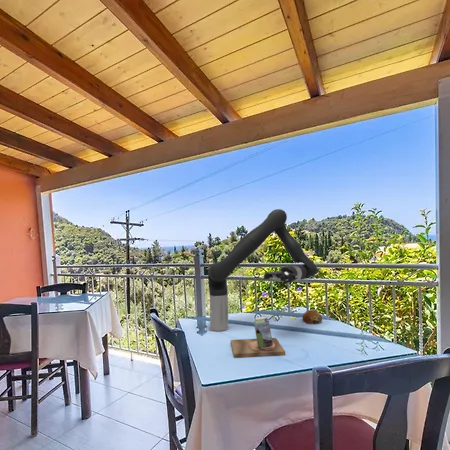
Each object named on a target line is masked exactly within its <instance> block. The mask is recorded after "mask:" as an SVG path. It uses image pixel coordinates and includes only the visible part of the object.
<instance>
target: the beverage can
mask: <svg viewBox="0 0 450 450" xmlns="http://www.w3.org/2000/svg"><path fill="white" fill-rule="evenodd" d="M253 324H254V331H255V337H256V338H255V339H257V344H258V347H260V348H261V349H266V348H270V347H271V346H272V345H273V342H272V338H273V337H272V331H271V325H270V320H269V318H268V317H267V316H258V317H255V318H254V321H253Z"/></svg>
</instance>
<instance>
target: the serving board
mask: <svg viewBox="0 0 450 450" xmlns="http://www.w3.org/2000/svg"><path fill="white" fill-rule="evenodd" d="M272 342H273V345H272V346H271V347H270V348H266V349H261V348H260V347H258V344H257V338H243V339H230V345H231V351H232V356H233V358H234V359H236V358H257V357H275V356H278V357H279V356H286V350H285V348H284V347H283V346H282V345H281V343H280V342H279V340H278V338H277V337H272Z"/></svg>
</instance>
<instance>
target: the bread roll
mask: <svg viewBox="0 0 450 450" xmlns="http://www.w3.org/2000/svg"><path fill="white" fill-rule="evenodd" d="M302 321H303V323H305V324H308V325H319V324H320V323H322V321H323V318H322V314H321V313H320V312H319V311H317V310H315V309H307V310H306V311H305V312H304V313H303V314H302Z"/></svg>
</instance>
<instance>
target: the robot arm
mask: <svg viewBox="0 0 450 450" xmlns="http://www.w3.org/2000/svg"><path fill="white" fill-rule="evenodd" d="M287 215H288V214H287V212H286V211H285V210H283V209H281V208H279V209H274V210H272V211H271V212H270V213H268V215H267V217H266V218H265V219H264V220H263V222H261V223H260V224H259V225H257V226H256V227H254V228H253V229H252V230H250V231H249V232H248V233H247V234H245V235H244V236H243V237H242V238H241V239H240V240H239V241H238V242H237V243H236V244H235V245H234V247H232V250H231V251H230V252H229V254H227V255H226V256H225V257H224V258H222V260H220V261H218V262H213V263H211V264H210V265H209V267H208V270H207V280H208V291H209V322H210V323H209V324H210V325H209V326H210V331H211V332H212V331H214V332H224V331H226V330H228V329H230V327H229V300H228V299H229V298H228V297H229V296H228V295H229V292H228V286H227V279H228V277H229V276H230V275H231V274H232V273H233V272H234V270H235V269H236V268H237V267H238V266H239V265H240V264H241V263H242V262H244V261H245V260H246V259H247V258H249V257H250V256H251V255H252V254H253V253H254V252H255V251H256V250H258V248H260V246H261V245H263V243H264V242H265V241H266V240H267V239H268V237H270V235H272V234H273V233H275V234H276V235H277V237H278V238H279V240H280V241H281V242H282V244H283V246H284V247H285V249H286V251H287V253H288V254H289V256H290V257H291V259H292V261H293V262H294V263H295V264H296V263H302V265H299V264H298V265H290V266H289V265H288V266H284V267H282V268H281V269H280V270H278V271H269V272H265V274H263V279H264V280H271V279H272V280H280V281H281V282H284V283H286V284H287V283H288V284H289V283H293V282H296V281H299V280H305V279H309V278H310V277H312V276H315V275H316V274H317V273H318V268H317V265H316V264H315V263H314V262H313V261H312V260H311V259H310V258H309V257H308V256H307V254H306V253H305V252H304V250H303V248H302V247H301V245H300V243H299V242H298V241H297V240H296V239H295V238H294V237H293V236H292V234H291V233H290V231H289V230H288V229H287V227H286V222H287V219H288V218H287V217H288V216H287Z"/></svg>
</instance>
